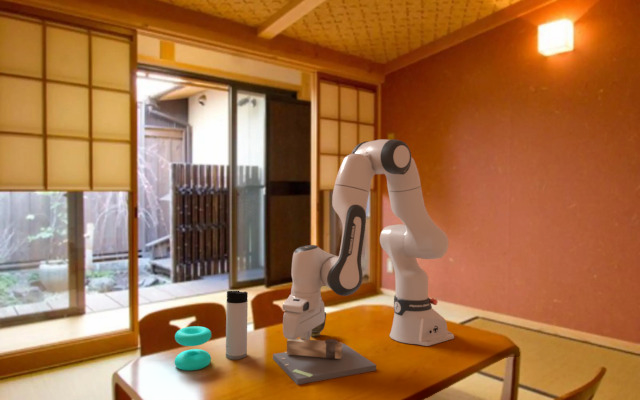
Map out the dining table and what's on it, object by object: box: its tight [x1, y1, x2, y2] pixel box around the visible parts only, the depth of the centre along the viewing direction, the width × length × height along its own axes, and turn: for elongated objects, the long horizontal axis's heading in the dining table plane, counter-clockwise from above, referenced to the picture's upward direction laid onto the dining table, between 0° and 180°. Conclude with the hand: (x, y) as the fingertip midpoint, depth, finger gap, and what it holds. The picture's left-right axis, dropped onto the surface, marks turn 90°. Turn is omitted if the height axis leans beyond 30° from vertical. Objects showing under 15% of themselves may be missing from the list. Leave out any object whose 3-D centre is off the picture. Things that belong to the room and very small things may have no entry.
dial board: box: [272, 343, 377, 386], centre depth 128 cm, size 24×19×2 cm
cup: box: [310, 312, 327, 338], centre depth 154 cm, size 8×7×8 cm
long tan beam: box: [286, 338, 343, 359], centre depth 130 cm, size 16×4×4 cm, turn 80°
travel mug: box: [225, 290, 249, 360], centre depth 134 cm, size 6×7×20 cm
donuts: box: [174, 325, 212, 371], centre depth 126 cm, size 10×10×10 cm
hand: (305, 345), depth 134 cm, fingers closed
